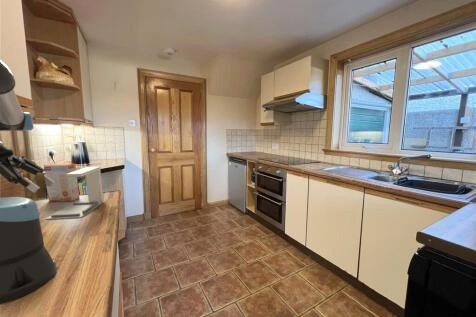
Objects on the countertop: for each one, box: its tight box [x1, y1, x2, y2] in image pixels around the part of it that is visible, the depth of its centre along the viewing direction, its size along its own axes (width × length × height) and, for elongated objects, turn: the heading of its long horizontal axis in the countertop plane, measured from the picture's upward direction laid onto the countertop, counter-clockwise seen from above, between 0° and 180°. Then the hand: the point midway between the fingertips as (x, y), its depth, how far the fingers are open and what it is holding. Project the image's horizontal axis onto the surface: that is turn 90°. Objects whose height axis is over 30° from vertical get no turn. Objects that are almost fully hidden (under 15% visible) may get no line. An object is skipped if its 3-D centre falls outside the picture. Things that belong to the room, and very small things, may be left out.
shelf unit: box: [44, 166, 105, 221], centre depth 102 cm, size 21×15×20 cm
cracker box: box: [43, 163, 80, 202], centre depth 116 cm, size 14×6×21 cm, turn 84°
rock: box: [26, 172, 46, 199], centre depth 86 cm, size 11×9×10 cm
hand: (44, 187), depth 88 cm, fingers closed on rock, 7 cm apart
